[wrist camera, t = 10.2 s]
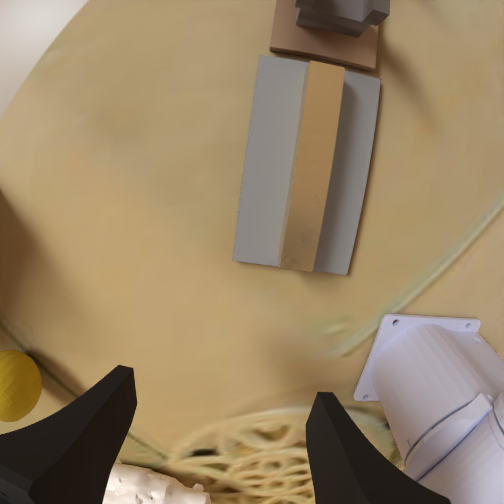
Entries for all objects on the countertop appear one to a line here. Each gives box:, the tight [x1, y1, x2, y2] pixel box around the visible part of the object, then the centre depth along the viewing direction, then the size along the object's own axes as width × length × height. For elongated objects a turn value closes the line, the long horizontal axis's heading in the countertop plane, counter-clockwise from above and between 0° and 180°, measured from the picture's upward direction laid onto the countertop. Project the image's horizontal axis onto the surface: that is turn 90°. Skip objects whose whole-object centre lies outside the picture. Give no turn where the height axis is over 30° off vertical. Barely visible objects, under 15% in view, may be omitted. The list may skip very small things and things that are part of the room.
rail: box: [278, 60, 345, 272], centre depth 16 cm, size 2×11×2 cm, turn 172°
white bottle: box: [102, 463, 211, 504], centre depth 24 cm, size 8×19×8 cm, turn 94°
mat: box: [232, 55, 381, 275], centre depth 18 cm, size 7×12×1 cm, turn 172°
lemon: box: [0, 350, 42, 422], centre depth 19 cm, size 6×6×8 cm
